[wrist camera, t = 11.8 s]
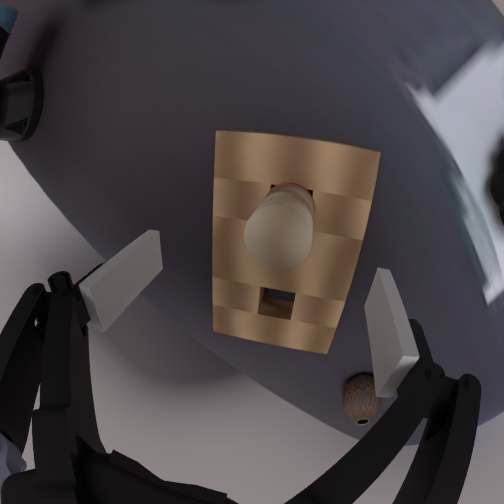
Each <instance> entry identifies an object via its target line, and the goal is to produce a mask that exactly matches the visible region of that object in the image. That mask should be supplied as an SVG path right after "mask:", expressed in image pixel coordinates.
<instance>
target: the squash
mask: <svg viewBox="0 0 504 504" xmlns="http://www.w3.org/2000/svg"><path fill="white" fill-rule="evenodd" d="M498 162H499V166H500V168H501V170H502V171H499V172H498V173H496V174H495V176H494V177H493V179H492V181H491V186H490V191H491V194H492V196H493V198H494V200H495V202H496V203H497V204H498V206H499V207H500V218H501V220H502V223H503V225H504V150H503V151H501V153H500V154H499V157H498Z"/></svg>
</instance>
